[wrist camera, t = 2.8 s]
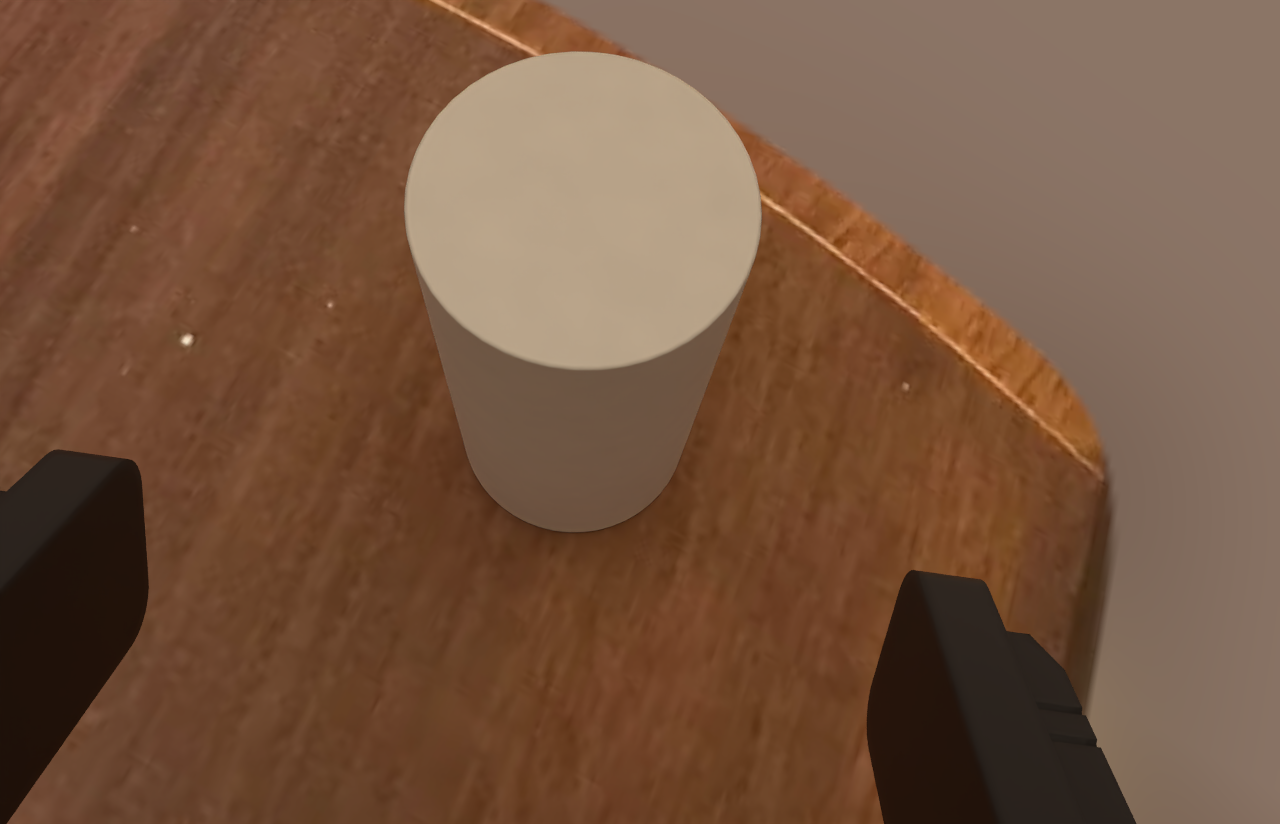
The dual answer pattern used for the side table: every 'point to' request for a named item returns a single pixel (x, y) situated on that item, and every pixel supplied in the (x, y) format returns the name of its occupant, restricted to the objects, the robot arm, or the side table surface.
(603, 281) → the cylinder
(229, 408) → the side table surface
